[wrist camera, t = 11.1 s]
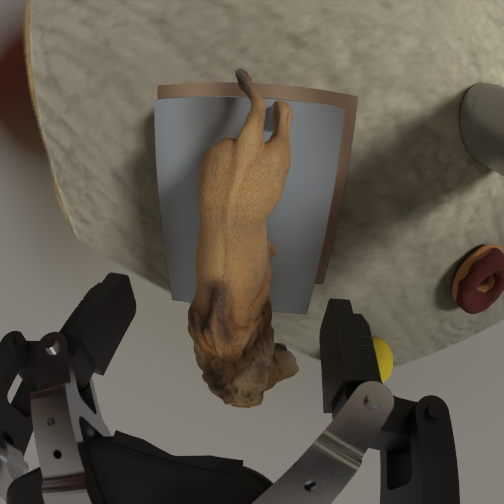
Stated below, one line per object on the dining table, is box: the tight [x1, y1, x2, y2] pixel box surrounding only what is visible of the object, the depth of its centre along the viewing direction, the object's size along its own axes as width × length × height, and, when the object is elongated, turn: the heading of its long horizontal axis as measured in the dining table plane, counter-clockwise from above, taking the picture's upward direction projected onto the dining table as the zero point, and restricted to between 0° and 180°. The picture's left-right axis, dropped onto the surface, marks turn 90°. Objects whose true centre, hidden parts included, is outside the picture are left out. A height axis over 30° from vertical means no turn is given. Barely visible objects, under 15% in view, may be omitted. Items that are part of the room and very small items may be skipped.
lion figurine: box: [188, 69, 299, 408], centre depth 12 cm, size 15×5×9 cm, turn 4°
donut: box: [452, 244, 504, 314], centre depth 26 cm, size 10×10×4 cm
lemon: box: [372, 337, 393, 383], centre depth 32 cm, size 6×6×8 cm
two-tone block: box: [154, 83, 358, 314], centre depth 20 cm, size 14×16×10 cm
